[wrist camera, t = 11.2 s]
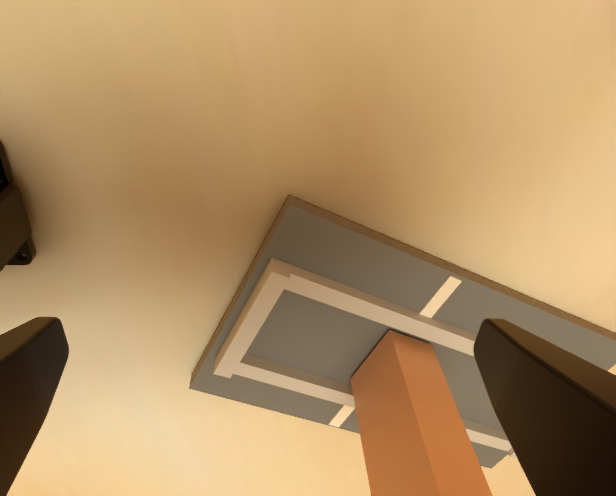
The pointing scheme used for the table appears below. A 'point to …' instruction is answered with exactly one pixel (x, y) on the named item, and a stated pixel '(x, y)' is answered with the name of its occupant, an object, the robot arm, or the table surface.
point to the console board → (366, 323)
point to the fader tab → (412, 424)
